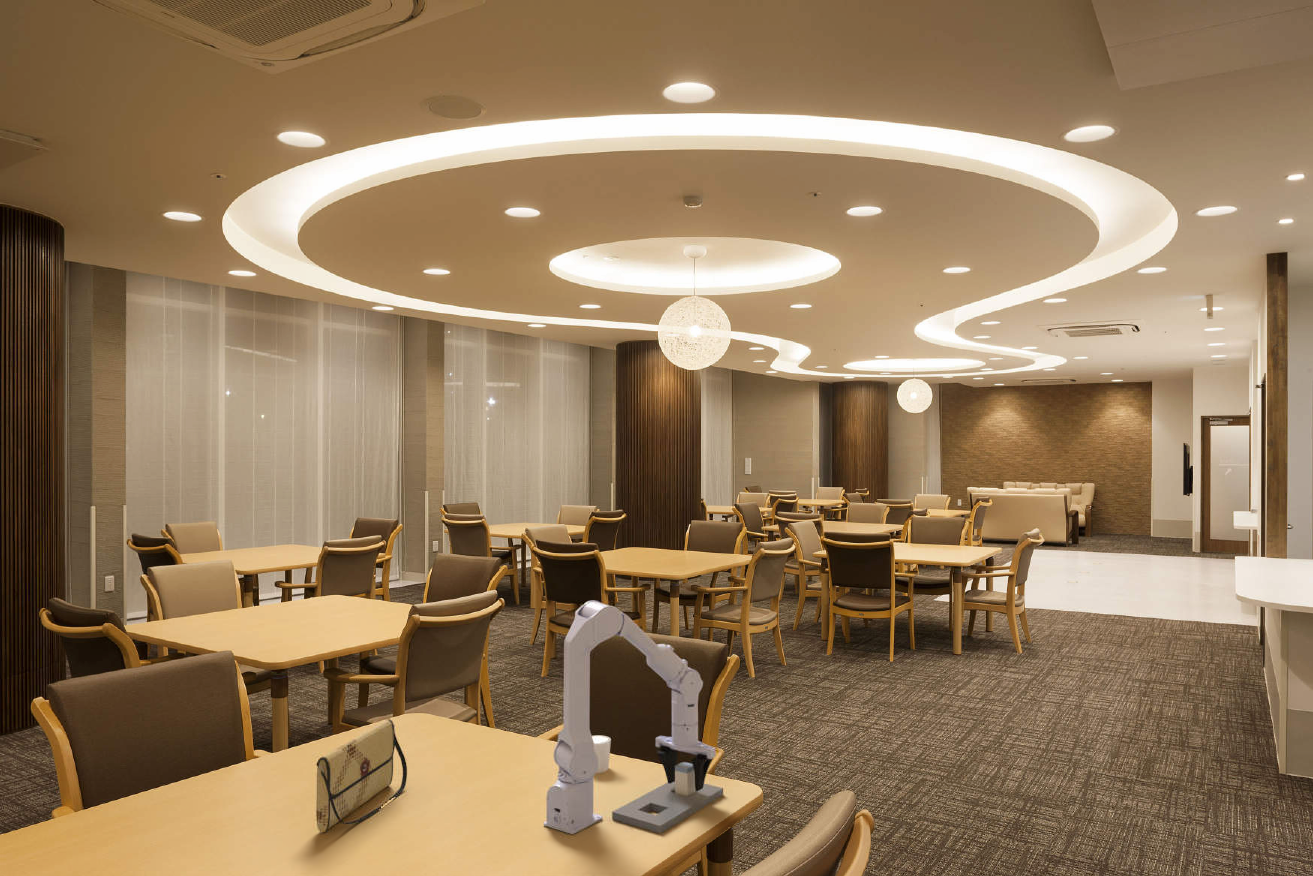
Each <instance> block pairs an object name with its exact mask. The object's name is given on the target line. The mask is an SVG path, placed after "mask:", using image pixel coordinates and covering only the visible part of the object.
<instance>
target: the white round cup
mask: <svg viewBox="0 0 1313 876" xmlns="http://www.w3.org/2000/svg"><path fill="white" fill-rule="evenodd" d="M592 738H593V741H594V751H595V753H596V755H597V758H598V768H597V771H596V773H595V774H599V773H601V774H602V773H604V772H607V771H608V770H609V768H610V767H609V766H610V752H611V742H612V739H611V737H609V736H606V735H599V734H598V735H592Z"/></svg>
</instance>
